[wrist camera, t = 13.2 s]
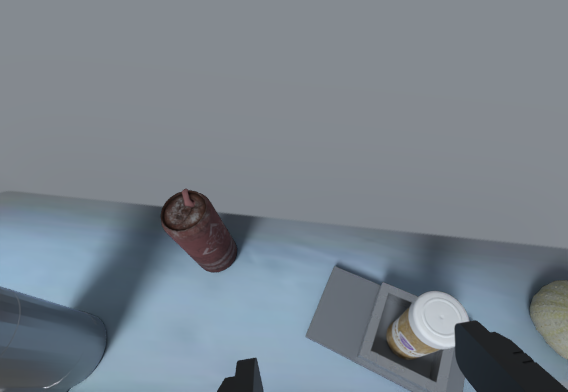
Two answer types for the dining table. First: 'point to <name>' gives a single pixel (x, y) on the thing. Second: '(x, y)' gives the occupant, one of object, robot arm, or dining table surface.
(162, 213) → the can
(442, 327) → the sprinkles bottle
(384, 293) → the collar
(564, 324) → the sea urchin shell
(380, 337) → the slate board
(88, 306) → the dining table surface
